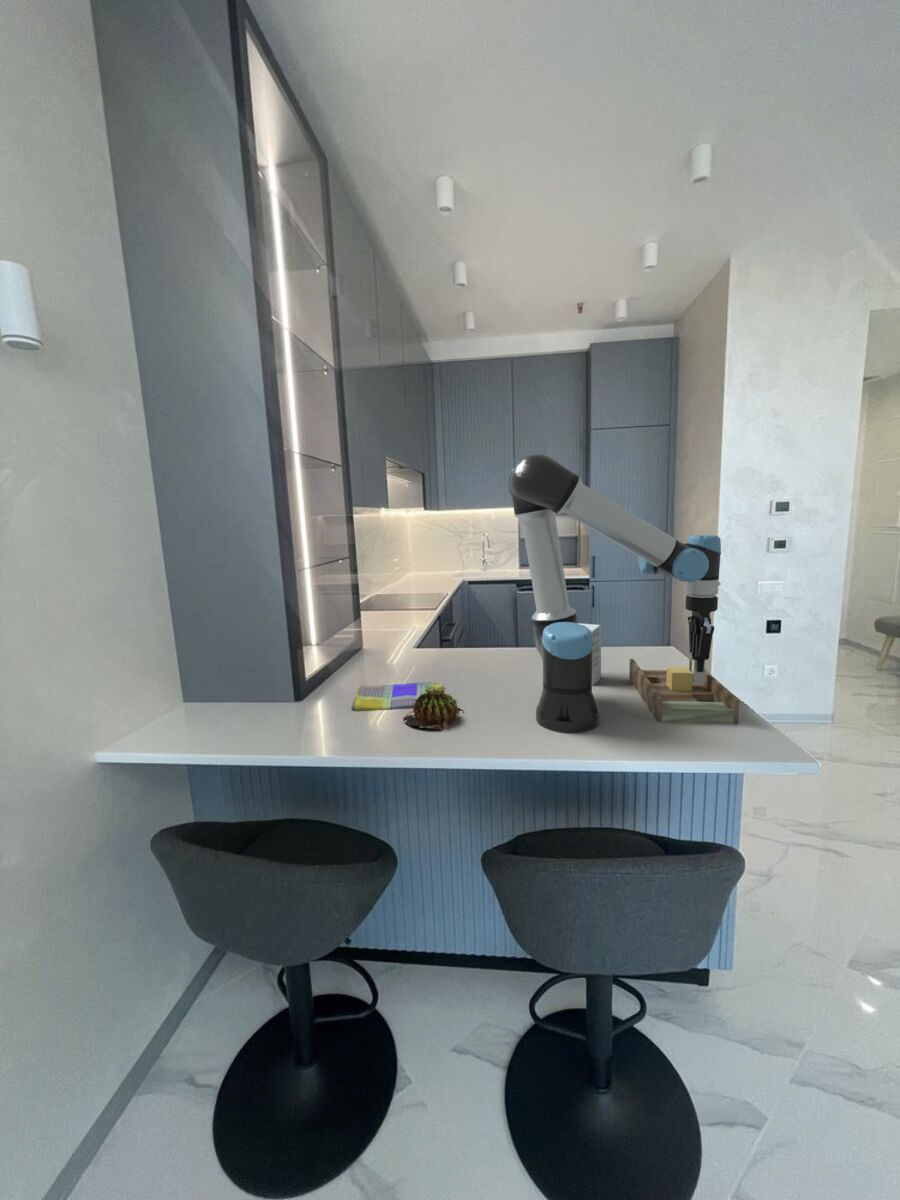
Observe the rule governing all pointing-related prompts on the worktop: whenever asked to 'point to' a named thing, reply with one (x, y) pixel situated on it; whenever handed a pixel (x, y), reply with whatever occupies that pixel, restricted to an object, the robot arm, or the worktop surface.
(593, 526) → the robot arm
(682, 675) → the block
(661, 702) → the tray
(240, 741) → the worktop surface
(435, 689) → the cactus
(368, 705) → the dish towel
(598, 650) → the supplement box
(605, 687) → the worktop surface
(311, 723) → the worktop surface
